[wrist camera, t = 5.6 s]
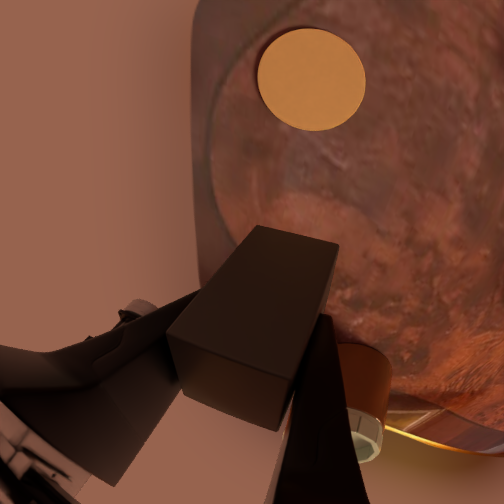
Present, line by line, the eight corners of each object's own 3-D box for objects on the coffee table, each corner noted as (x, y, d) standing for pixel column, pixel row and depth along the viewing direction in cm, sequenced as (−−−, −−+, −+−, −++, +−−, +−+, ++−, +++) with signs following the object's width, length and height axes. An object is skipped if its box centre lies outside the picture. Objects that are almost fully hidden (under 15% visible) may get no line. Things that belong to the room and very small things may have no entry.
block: (253, 288, 12) (182, 395, 8) (256, 223, 11) (163, 331, 6) (325, 308, 11) (277, 433, 7) (340, 243, 10) (291, 380, 6)
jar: (303, 383, 32) (277, 449, 25) (317, 333, 27) (287, 414, 20) (376, 401, 30) (360, 470, 23) (405, 354, 25) (396, 439, 18)
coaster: (258, 124, 20) (256, 125, 19) (260, 28, 16) (258, 28, 15) (360, 138, 17) (360, 139, 17) (368, 35, 14) (368, 34, 13)
